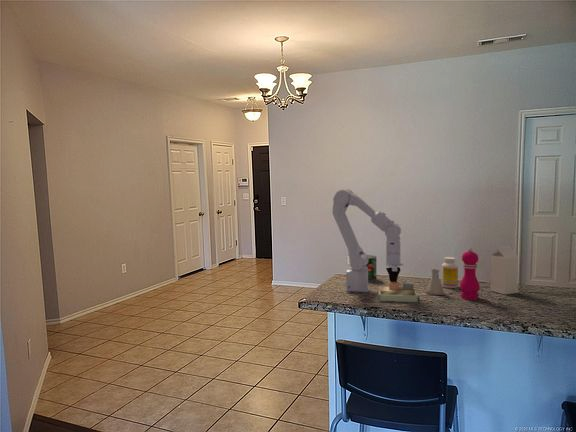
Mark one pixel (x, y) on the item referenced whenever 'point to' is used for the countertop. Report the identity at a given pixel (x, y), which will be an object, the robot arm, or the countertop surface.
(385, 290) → the birch plate
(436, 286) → the flask
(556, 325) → the countertop surface
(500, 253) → the milk carton
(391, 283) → the terracotta tile
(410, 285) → the slate tile
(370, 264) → the canned tomato
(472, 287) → the pepper mill
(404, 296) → the box
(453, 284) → the supplement bottle
